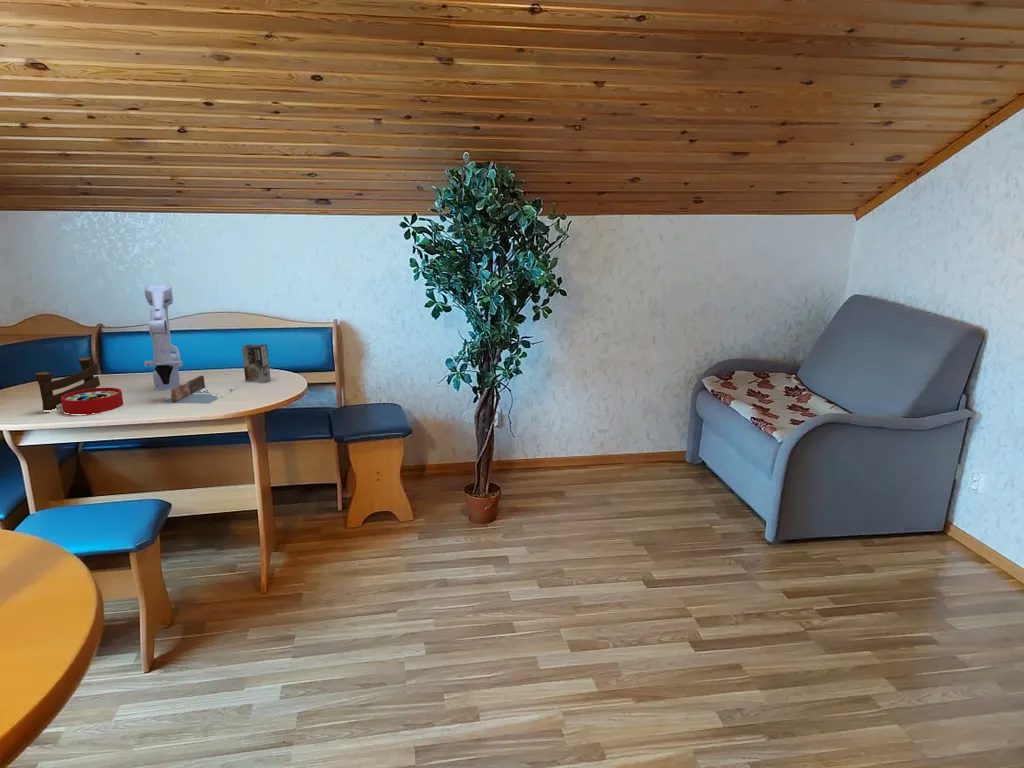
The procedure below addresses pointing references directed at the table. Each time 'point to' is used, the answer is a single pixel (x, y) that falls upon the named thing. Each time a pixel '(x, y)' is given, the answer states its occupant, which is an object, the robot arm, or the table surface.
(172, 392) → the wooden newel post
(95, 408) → the toy clock
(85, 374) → the decorative fence
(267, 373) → the coffee box
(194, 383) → the dark brown wooden bar
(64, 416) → the table surface
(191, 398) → the board
